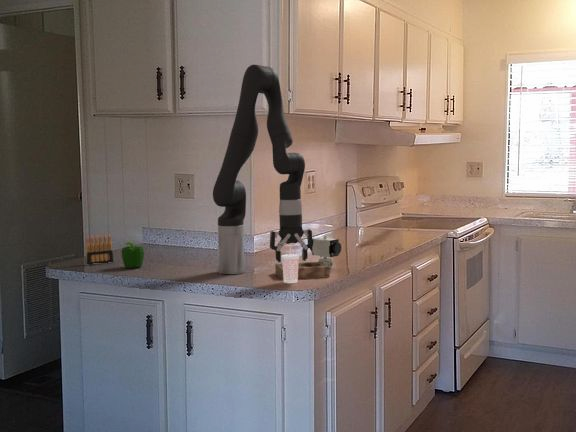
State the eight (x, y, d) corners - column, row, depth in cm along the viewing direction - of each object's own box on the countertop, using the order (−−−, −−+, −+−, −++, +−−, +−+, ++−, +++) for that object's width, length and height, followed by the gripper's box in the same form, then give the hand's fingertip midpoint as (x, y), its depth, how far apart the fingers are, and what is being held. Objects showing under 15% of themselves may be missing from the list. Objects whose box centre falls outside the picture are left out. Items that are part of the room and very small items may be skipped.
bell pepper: (142, 265, 272) (141, 239, 271) (146, 268, 264) (145, 242, 263) (120, 266, 269) (119, 240, 268) (123, 270, 261) (122, 243, 260)
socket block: (281, 279, 240) (281, 269, 240) (275, 273, 251) (275, 263, 251) (329, 276, 244) (329, 266, 243) (321, 271, 254) (321, 261, 254)
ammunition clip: (87, 265, 272) (85, 234, 270) (85, 265, 273) (84, 234, 272) (113, 262, 278) (112, 232, 277) (111, 262, 279) (110, 232, 278)
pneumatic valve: (316, 265, 267) (316, 234, 266) (341, 268, 260) (341, 236, 259) (307, 267, 263) (307, 235, 262) (333, 270, 256) (333, 238, 254)
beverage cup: (281, 283, 232) (281, 241, 231) (281, 280, 238) (281, 239, 237) (299, 283, 232) (299, 241, 231) (299, 280, 238) (299, 239, 237)
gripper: (271, 214, 228) (273, 264, 229) (314, 213, 231) (315, 261, 232) (267, 213, 235) (268, 260, 237) (308, 211, 238) (309, 258, 240)
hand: (291, 261), depth 234 cm, fingers open, 8 cm apart
